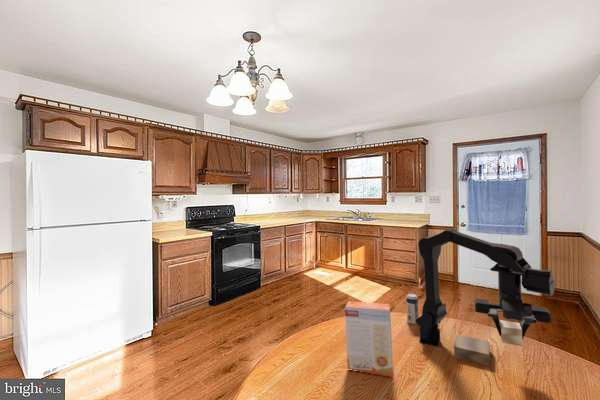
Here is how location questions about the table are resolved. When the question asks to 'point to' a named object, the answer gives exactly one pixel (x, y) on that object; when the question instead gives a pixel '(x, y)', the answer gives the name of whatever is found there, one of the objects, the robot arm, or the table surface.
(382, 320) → the cracker box
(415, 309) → the white capped bottle
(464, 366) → the table surface
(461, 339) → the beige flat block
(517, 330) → the maple cube
